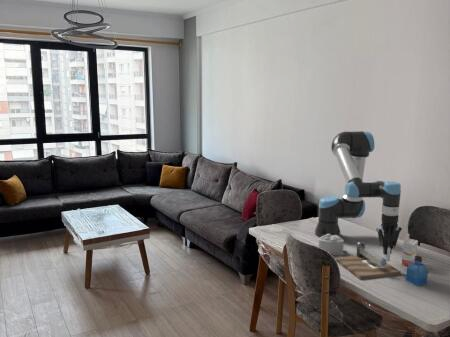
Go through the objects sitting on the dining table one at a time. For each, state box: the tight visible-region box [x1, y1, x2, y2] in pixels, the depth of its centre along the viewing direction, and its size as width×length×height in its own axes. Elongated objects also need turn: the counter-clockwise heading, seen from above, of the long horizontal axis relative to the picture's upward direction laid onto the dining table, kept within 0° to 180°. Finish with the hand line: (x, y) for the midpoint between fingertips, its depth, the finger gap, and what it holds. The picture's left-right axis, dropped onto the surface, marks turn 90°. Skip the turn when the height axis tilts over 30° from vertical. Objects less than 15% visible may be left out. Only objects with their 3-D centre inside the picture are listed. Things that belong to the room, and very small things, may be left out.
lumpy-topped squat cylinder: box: [317, 234, 345, 256], centre depth 225 cm, size 10×13×9 cm
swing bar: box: [356, 240, 387, 267], centre depth 206 cm, size 21×4×7 cm, turn 14°
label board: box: [334, 254, 402, 280], centre depth 204 cm, size 23×22×2 cm
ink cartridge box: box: [401, 233, 419, 267], centre depth 208 cm, size 9×5×15 cm, turn 141°
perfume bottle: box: [405, 255, 429, 287], centre depth 188 cm, size 6×6×12 cm
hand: (386, 260), depth 202 cm, fingers closed
